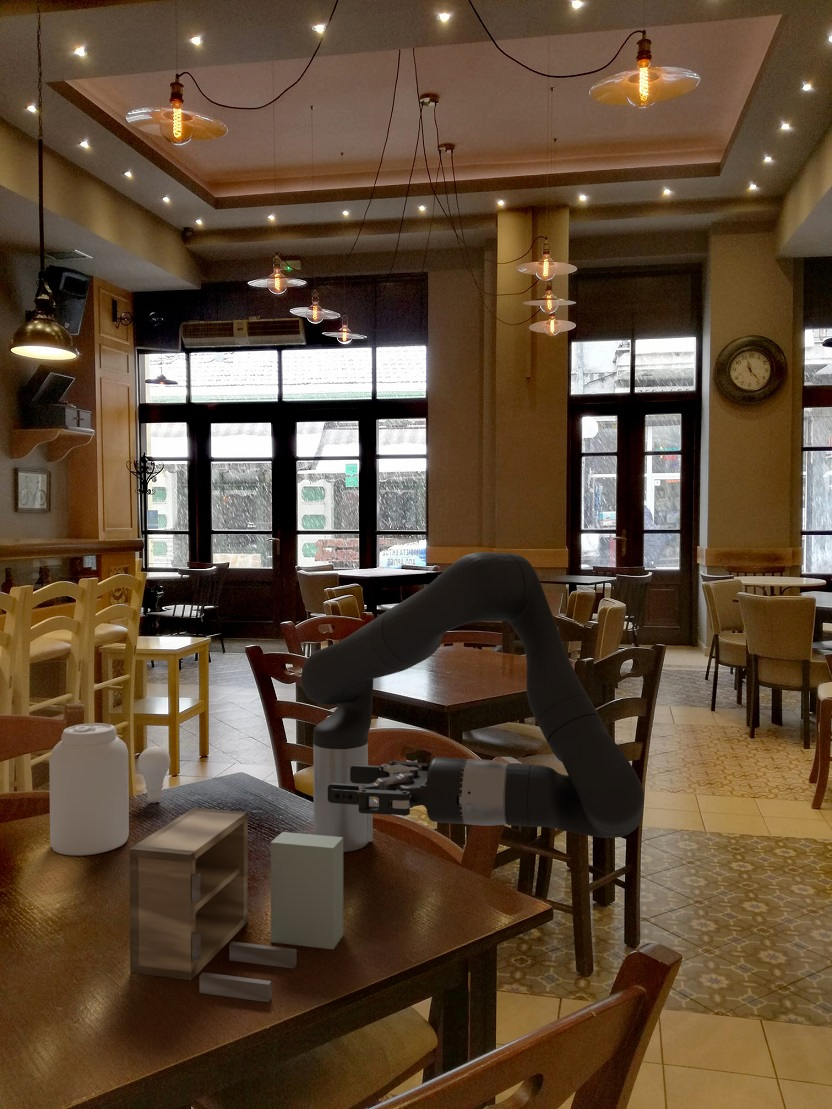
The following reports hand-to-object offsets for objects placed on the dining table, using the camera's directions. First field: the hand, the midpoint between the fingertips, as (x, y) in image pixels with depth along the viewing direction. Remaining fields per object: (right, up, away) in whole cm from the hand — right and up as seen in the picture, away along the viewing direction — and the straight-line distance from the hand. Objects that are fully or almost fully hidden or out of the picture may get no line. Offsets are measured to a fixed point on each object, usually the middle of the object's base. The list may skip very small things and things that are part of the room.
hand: (340, 782), depth 107 cm
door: (-5, -22, +6) cm, 23 cm away
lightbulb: (-42, -21, +63) cm, 78 cm away
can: (-46, -21, +41) cm, 65 cm away
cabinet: (-14, -22, +2) cm, 26 cm away
